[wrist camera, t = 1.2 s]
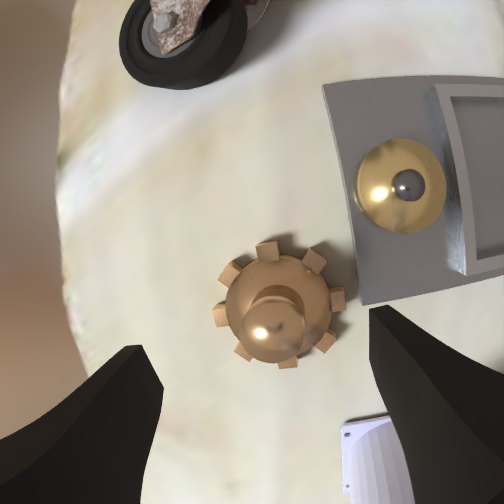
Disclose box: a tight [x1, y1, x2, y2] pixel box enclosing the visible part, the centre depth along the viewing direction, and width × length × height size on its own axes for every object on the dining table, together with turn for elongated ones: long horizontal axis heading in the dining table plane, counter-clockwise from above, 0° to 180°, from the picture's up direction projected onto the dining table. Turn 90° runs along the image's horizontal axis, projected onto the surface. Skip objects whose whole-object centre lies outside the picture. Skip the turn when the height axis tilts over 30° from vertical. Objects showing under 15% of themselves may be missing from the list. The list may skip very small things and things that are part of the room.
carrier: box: [322, 76, 504, 306], centre depth 14 cm, size 13×18×4 cm
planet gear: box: [212, 240, 346, 369], centre depth 17 cm, size 8×8×4 cm
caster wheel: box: [119, 0, 270, 90], centre depth 15 cm, size 7×11×10 cm
